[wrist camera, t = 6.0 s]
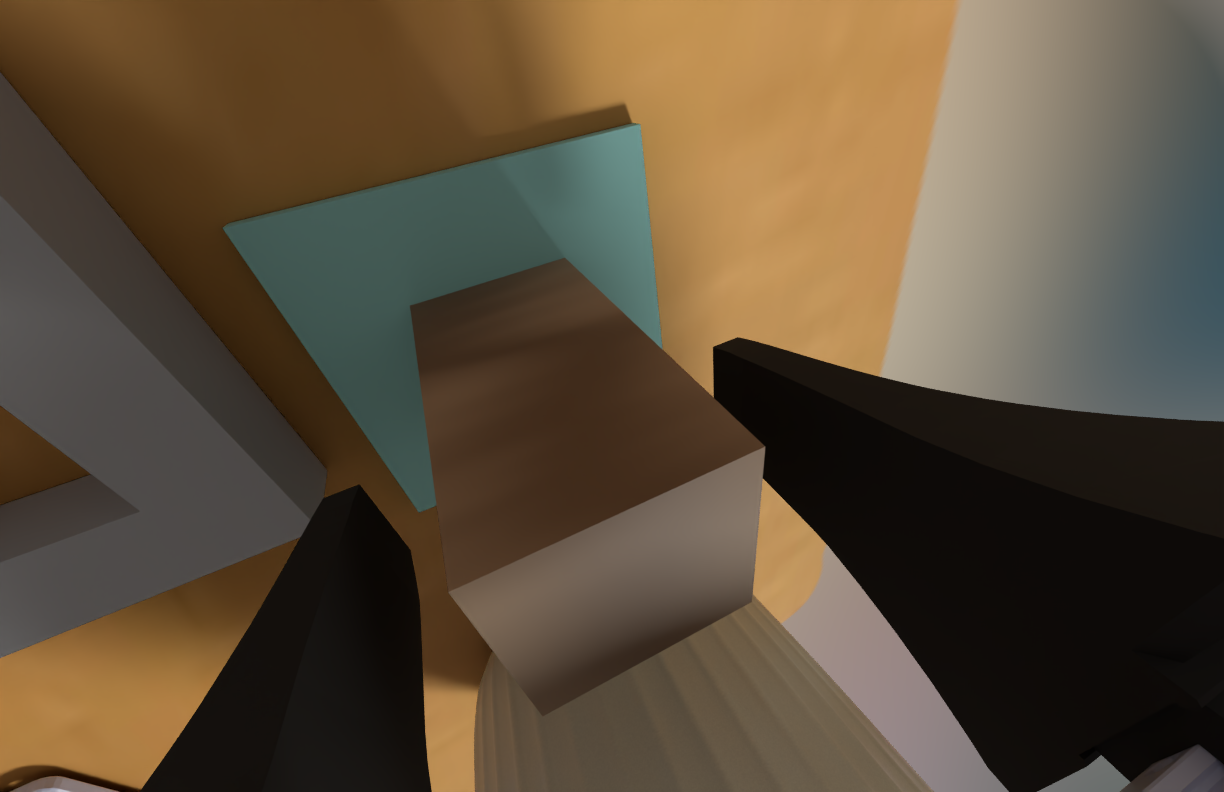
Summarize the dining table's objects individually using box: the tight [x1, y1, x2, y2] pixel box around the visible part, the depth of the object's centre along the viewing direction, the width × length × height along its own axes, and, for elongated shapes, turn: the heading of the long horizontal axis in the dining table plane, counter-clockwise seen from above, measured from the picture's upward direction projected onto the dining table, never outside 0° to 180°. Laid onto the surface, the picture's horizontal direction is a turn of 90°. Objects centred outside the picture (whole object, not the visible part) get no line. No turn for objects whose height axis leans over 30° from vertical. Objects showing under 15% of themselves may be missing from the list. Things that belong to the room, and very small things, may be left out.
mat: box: [223, 123, 663, 513], centre depth 13 cm, size 9×9×1 cm
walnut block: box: [410, 258, 765, 716], centre depth 9 cm, size 4×4×8 cm
